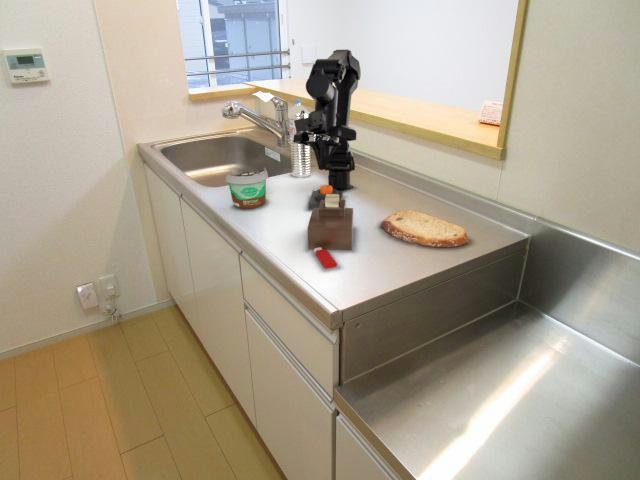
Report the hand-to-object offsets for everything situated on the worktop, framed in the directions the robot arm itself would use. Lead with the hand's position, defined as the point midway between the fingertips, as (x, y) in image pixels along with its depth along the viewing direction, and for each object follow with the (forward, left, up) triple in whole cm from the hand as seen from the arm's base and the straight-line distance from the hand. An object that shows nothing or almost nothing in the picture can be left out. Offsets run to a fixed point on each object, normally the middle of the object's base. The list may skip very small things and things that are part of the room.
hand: (321, 169), depth 116 cm
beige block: (+6, +9, -6) cm, 12 cm away
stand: (+9, +12, -13) cm, 20 cm away
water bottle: (-21, -32, -13) cm, 40 cm away
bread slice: (-9, +26, -13) cm, 30 cm away
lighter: (+17, +18, -13) cm, 28 cm away
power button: (-8, -6, -10) cm, 14 cm away
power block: (-8, -6, -13) cm, 16 cm away
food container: (+8, -20, -13) cm, 25 cm away
